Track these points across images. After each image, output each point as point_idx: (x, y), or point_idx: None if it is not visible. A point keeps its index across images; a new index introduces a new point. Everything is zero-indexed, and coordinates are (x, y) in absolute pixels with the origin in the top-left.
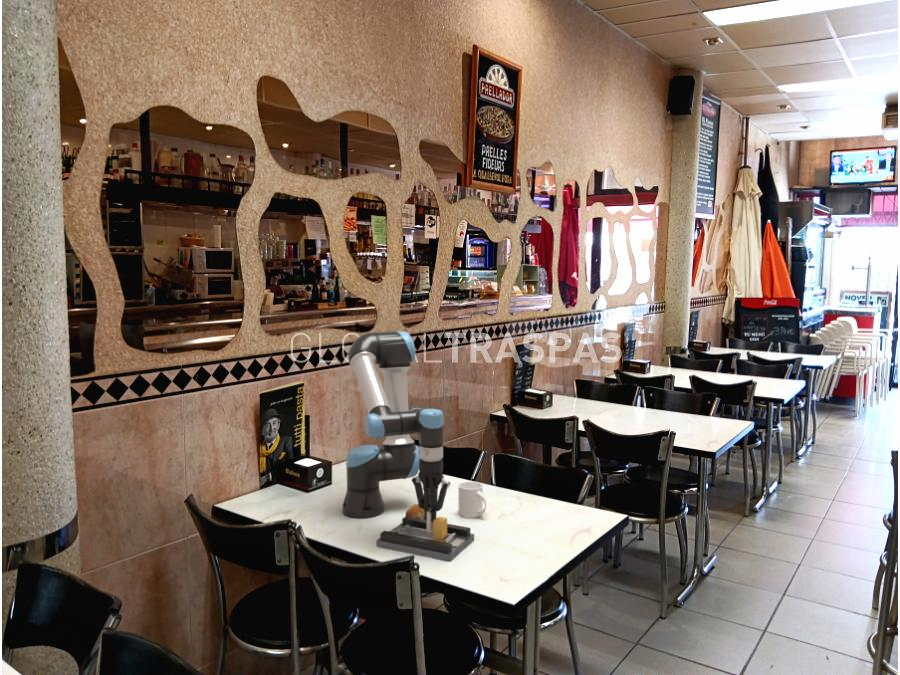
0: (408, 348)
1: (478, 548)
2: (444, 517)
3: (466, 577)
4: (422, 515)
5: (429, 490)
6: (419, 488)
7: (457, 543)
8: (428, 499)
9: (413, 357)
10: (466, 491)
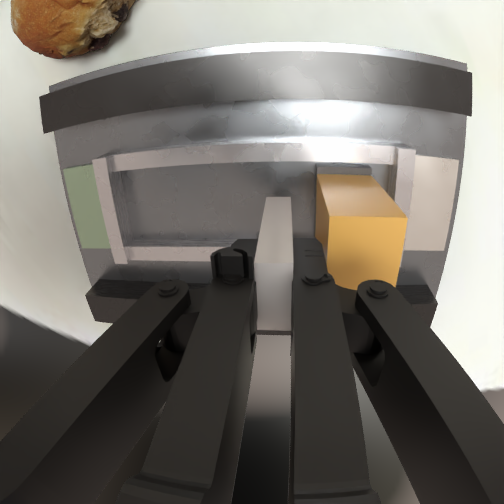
0: None
1: (493, 152)
2: (385, 219)
3: (474, 358)
4: (92, 7)
5: (220, 484)
6: (88, 483)
7: (439, 220)
8: (242, 395)
9: None
10: None
